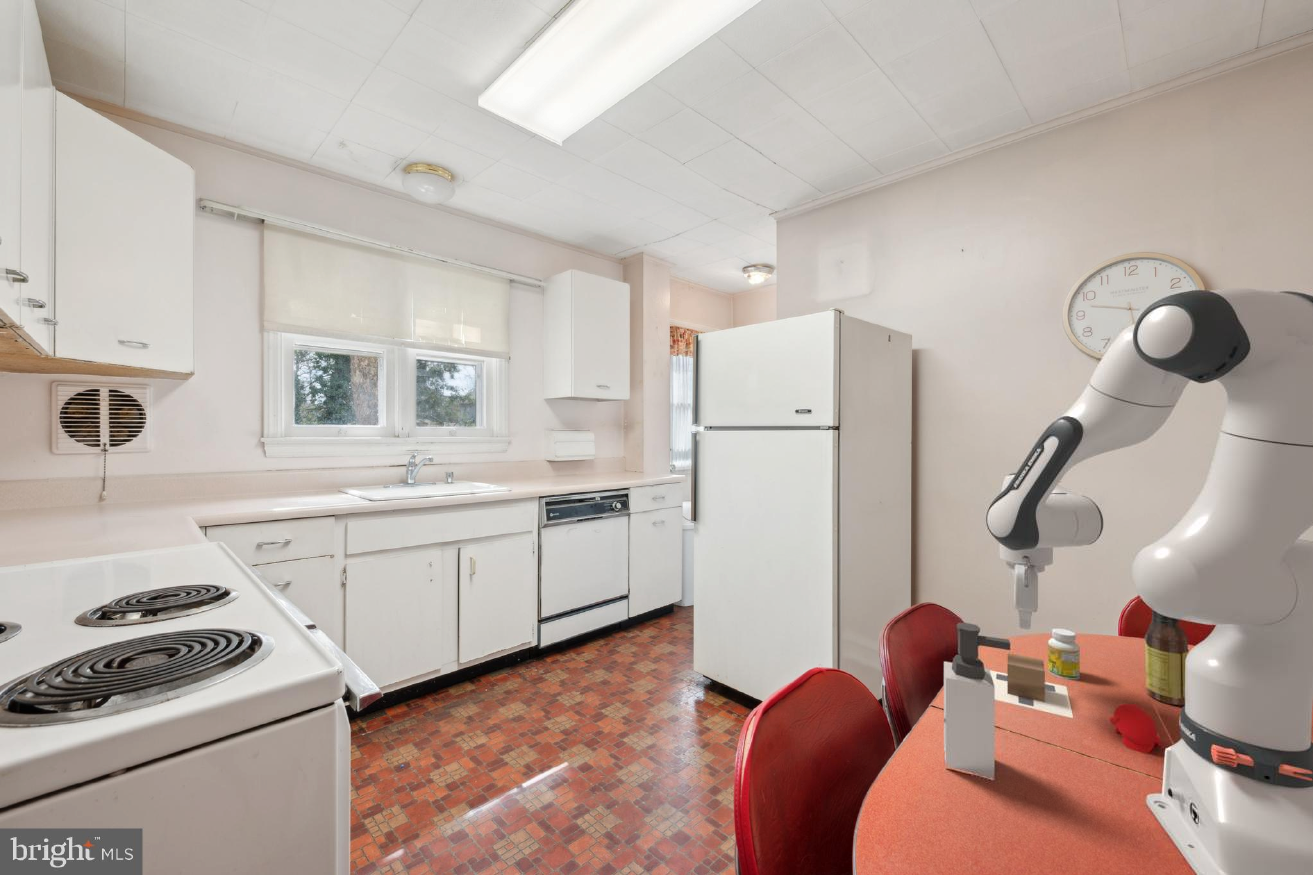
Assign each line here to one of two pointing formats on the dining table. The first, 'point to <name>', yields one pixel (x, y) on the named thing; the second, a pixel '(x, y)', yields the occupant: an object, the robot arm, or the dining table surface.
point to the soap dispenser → (970, 704)
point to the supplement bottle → (1064, 654)
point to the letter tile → (1053, 702)
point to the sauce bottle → (1166, 659)
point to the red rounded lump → (1136, 728)
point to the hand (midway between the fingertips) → (1024, 619)
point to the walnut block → (1026, 677)
